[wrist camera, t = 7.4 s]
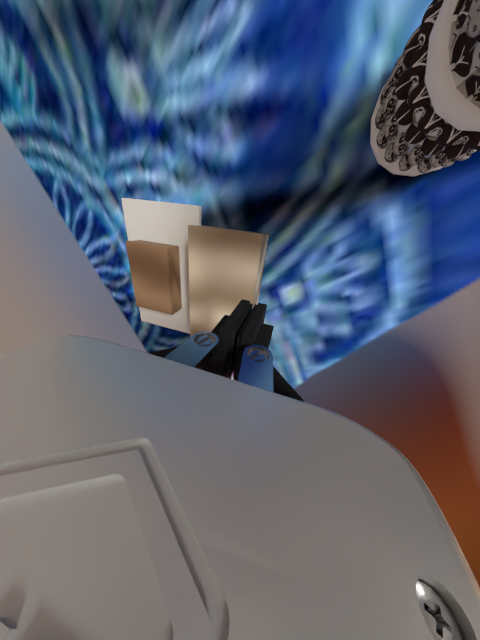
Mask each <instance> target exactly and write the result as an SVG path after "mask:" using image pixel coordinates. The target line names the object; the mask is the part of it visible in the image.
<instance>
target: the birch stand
mask: <svg viewBox="0 0 480 640" xmlns="http://www.w3.org/2000/svg"><path fill="white" fill-rule="evenodd" d="M268 237H269V234H264V233H257V232H249V231H241V230H233V229H226V228H218V227H210V226H199V225H188V254H189V297H190V337H191V336H193V335H194V334H196V333H198V332H204V331H206V332H211V331H212V330H213V329H214V328H215V326H216V325H217V324H218V323H219V321H220V320H221V319H222V318H223V316H224V315H229V316H230V314H231V313H232V312H233V310H234V309H235V308H236V306H237V305H238V304H239V302H240V301H241V300H242V299H243V300H248V301H250V303H251V304H253V306H252V309H253V307H254V305H255V304H256V305H257V304H258V298H259V292H260V286H261V280H262V274H263V268H264V261H265V255H266V249H267V243H268Z"/></svg>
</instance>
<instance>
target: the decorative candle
mask: <svg viewBox="0 0 480 640" xmlns="http://www.w3.org/2000/svg"><path fill="white" fill-rule="evenodd" d="M370 145H371V148H372V150H373V153H374V155H375V158H376V160H377V163H378V164H380V165H381V166H382V167H384V168H385V169H386V170H388V171H389V172H390V173H392V174H396V175H404V176H413V177H414V176H417V175H421V174H425V173H428V172H432V171H435V170H439V169H441V168H443V167H449V166H451V165H453V163H454V162H455V160H458V161H462V160H465V159H467V158H469V157H470V156H471V155H472V153H474V152H475V151H477V150H478V151H480V0H433V2H432V3H431V4H430V6H429V7H428V9H427V10H426V12H425V15H424V17H423V20H422V23H421V25H420V26H419V27H418V28H417V29H416V31H415V32H414V33H413V34H412V36H411V37H410V39H409V40H408V42H407V44H406V46H405V48H404V51H403V53H402V54H401V56H400V57H399V59H398V60H397V62H396V64H395V66H394V69H393V71H392V74H391V76H390V78H389V79H388V81H387V82H386V84H385V85H384V87H383V88H382V90H381V92H380V95H379V98H378V101H377V104H376V106H375V109H374V112H373V115H372V118H371V131H370Z"/></svg>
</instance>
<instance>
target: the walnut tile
mask: <svg viewBox="0 0 480 640" xmlns="http://www.w3.org/2000/svg"><path fill="white" fill-rule="evenodd" d="M126 246H127V252H128V258H129V264H130V270H131V275H132V281H133V287H134V293H135V298H136V304H137V306H138V307H142V308H146V309H150V310H154V311H158V312H162V313H166V314H171V315H173V314H174V313H176V312H177V311H179V310H180V309H182V300H181V279H180V259H179V246H175V245H169V244H162V243H156V242H149V241H143V240H135V241H126Z"/></svg>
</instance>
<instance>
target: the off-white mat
mask: <svg viewBox="0 0 480 640" xmlns="http://www.w3.org/2000/svg"><path fill="white" fill-rule="evenodd" d="M122 205H123V211H124V217H125V223H126V229H127V235H128V241H135V240H143V241H149V242H156V243H162V244H169V245H175V246H179V259H180V279H181V300H182V309H180V310H179V311H177V312H176V313H174V314H173V315H171V314H166V313H162V312H158V311H154V310H150V309H146V308H142V307H139V309H140V315H141V321H144V322H148V323H151V324H155V325H159V326H163V327H166V328H170V329H174V330H178V331H181V332H185V333H189V334H190V297H189V254H188V225H199V226H201V206H195V205H186V204H176V203H167V202H157V201H148V200H138V199H129V198H122Z"/></svg>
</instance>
